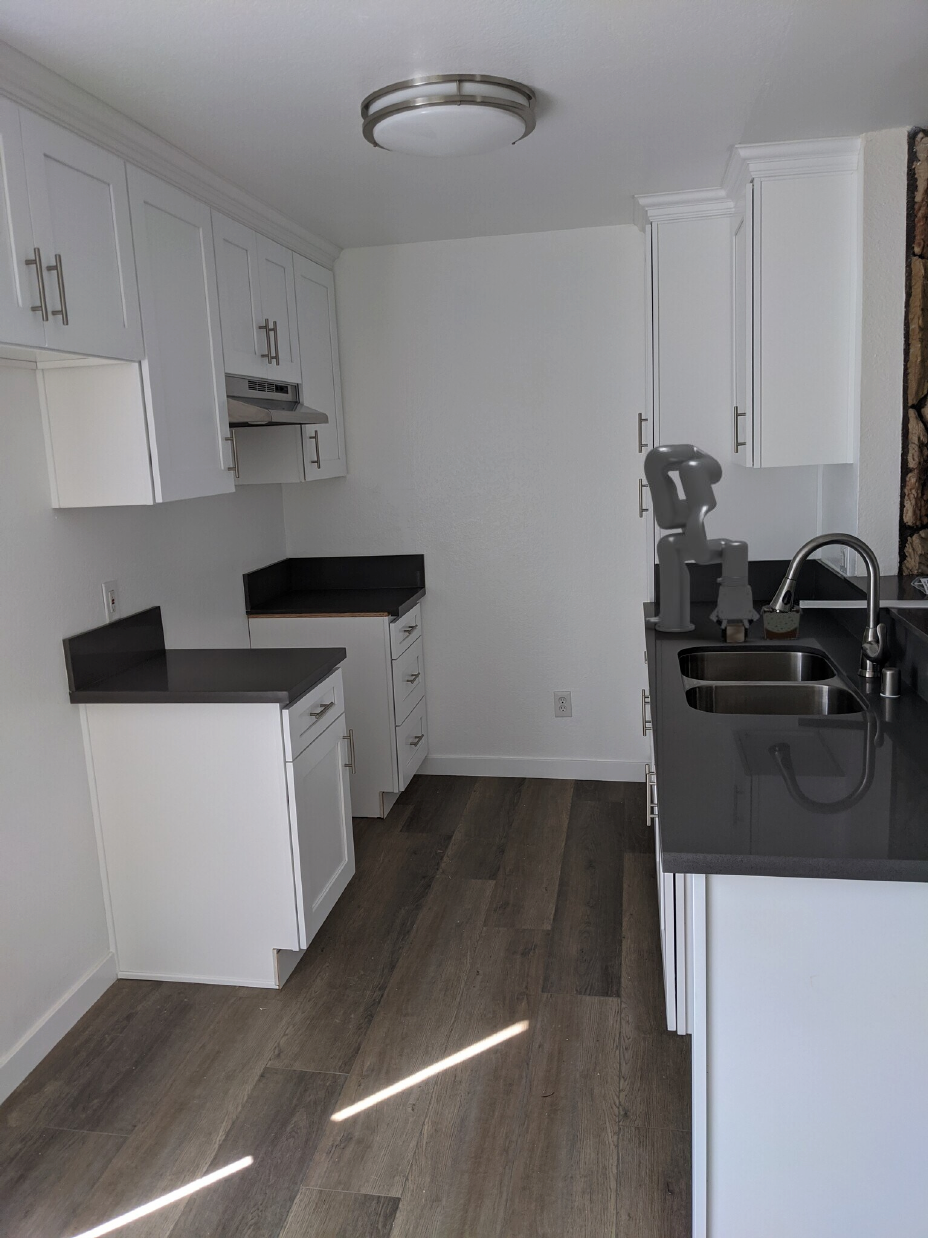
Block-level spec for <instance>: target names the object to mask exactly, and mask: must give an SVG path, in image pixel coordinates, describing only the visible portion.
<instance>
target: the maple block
mask: <svg viewBox="0 0 928 1238" xmlns="http://www.w3.org/2000/svg"><path fill="white" fill-rule="evenodd" d="M743 625H744V624H743V623H726V629H727V642H738V641H739V642H740V641H744V626H743ZM727 642H726V643H727ZM744 642H745V641H744Z"/></svg>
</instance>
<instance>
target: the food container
mask: <svg viewBox="0 0 928 1238" xmlns="http://www.w3.org/2000/svg"><path fill="white" fill-rule="evenodd" d="M771 605H772V604H770V605H769V604H768V605H765V606H762V609H761V610H760V615H762V621H763V623H762V624H763V634H764V640H765V639H788V638H789V639H791V638H797V639H798V633H799V626H800V625H799V624H800V618H801V615H803V609H802V607H801V606H798V605H794V606H795V607H794V609H792V610H791V612H788V613H776V612H774V610H772V609H771Z"/></svg>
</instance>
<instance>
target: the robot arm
mask: <svg viewBox="0 0 928 1238" xmlns="http://www.w3.org/2000/svg"><path fill="white" fill-rule="evenodd" d="M643 463H644V464H643V472H644V475H645V479H646V481H647V484H648V485H647V486H648V488H649V491H650V497H651V502H652V507H653V508H652V509H653V513H654V518H655V521H656V525H657V526H658V527H659V528H660V529H661V530H664V531H665V530H667V531H668V530H669V531H671V530H672V531H673V530H678V529H680V530H681V532H674V533H669V534H666V535H663V536H662V537H661V538H660V539H659V540H658V541H657V544H656V555H657V558H658V565H659V585H660V586H659V587H660V588H659V591H660V593H659V603H660V606H659V607H660V609H659V614H658V616H657V615H656V616H655V617H652V616H647V617H645V622H646V623H645V624H651V625H652V624H653V625H654V624H656V625H655V629H656V631H660V632H666V633H686V632H690V631H691V632H692V631H693V630H695V629H696V628H695V627H696V626H695V624H693V623H692V622H691V619H690V618H691V614H690V613H691V612H690V611H691V606H690V605H691V603H690V602H691V601H690V600H691V599H690V598H691V596H690V595H691V593H690V592H691V588H690V587H691V585H690V584H691V582H690V581H691V578H690V576H691V575H690V572H689V568H688V566H687V565H686V563H685V562H688V561H694V562H695V563H696V564H697V565H700V566H706V565H712V564H713V565H714V564H721V565H722V566H721V568H722V569H721V572H722V573H721V577H720V578H719V577H718V578H716V583H718V584H719V583H720V584H721V585H720V586H719V590H718V597H717V604H716V605H717V606H716V608H715V609H714V610H713V611H712V613H711V614H710V616H709V618H710V619H711V620H712V621H713V622H715V623H716V624H717V625H718V626H719V627H720V630H721V631H720V632H721V633H720V634H721V635H720V637H721V639H722V640H723V641H724V642H726V641H727V629H726V624H728V620H731V621H732V620H742V625H743V626H744V642H746V640H747V638H748V637H749V628H750V626H751V625H752V624H754V622H755V621H757V620H758V619H759V618H760V614H759V613H758V612H757V611H756V610H755V608H754V606H753V603H754V602H753V593H752V587H751V586H750V585H749V544H748V542H746V541H743V540H732V539H729V538H723V537H721V538H711V539H710V538H709V539H708V537H707V530H706V526H705V522H704V519H705V517H706V516H707V515H708V514H709V513H710V512H712V511H713V510H714V509H716V507H717V504H718V502H717V499H716V496H715V493H714V490H713V487H712V485H716V484H718V483H719V482H720V481H721V479H722V478H723V469H722V465H721V464H720V462H719V461H718V460H717V459H715V457H714V456H712V455H710V454H709V453H707V452H705V451H704V450H703V449H701V448H699V447H698V446H695V444H691V443H690V444H689V443H682V444H681V443H680V444H679V443H678V444H677V443H676V444H661V445H659V446H658V445H657V446H655V447H653V448H651V449H650V450H649V451H648V453H647V454H646V456H645V459H644V462H643ZM669 472H678V476H679V480H680V483H681V486H682V490H683V493H684V497H685V498H684V499H682V498H681V499H680V497H679V493H678V488H677V484H676V482H675V481H674V479H673V478H672V476H671V475H669ZM717 616H718V617H717ZM690 622H691V623H690Z"/></svg>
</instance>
